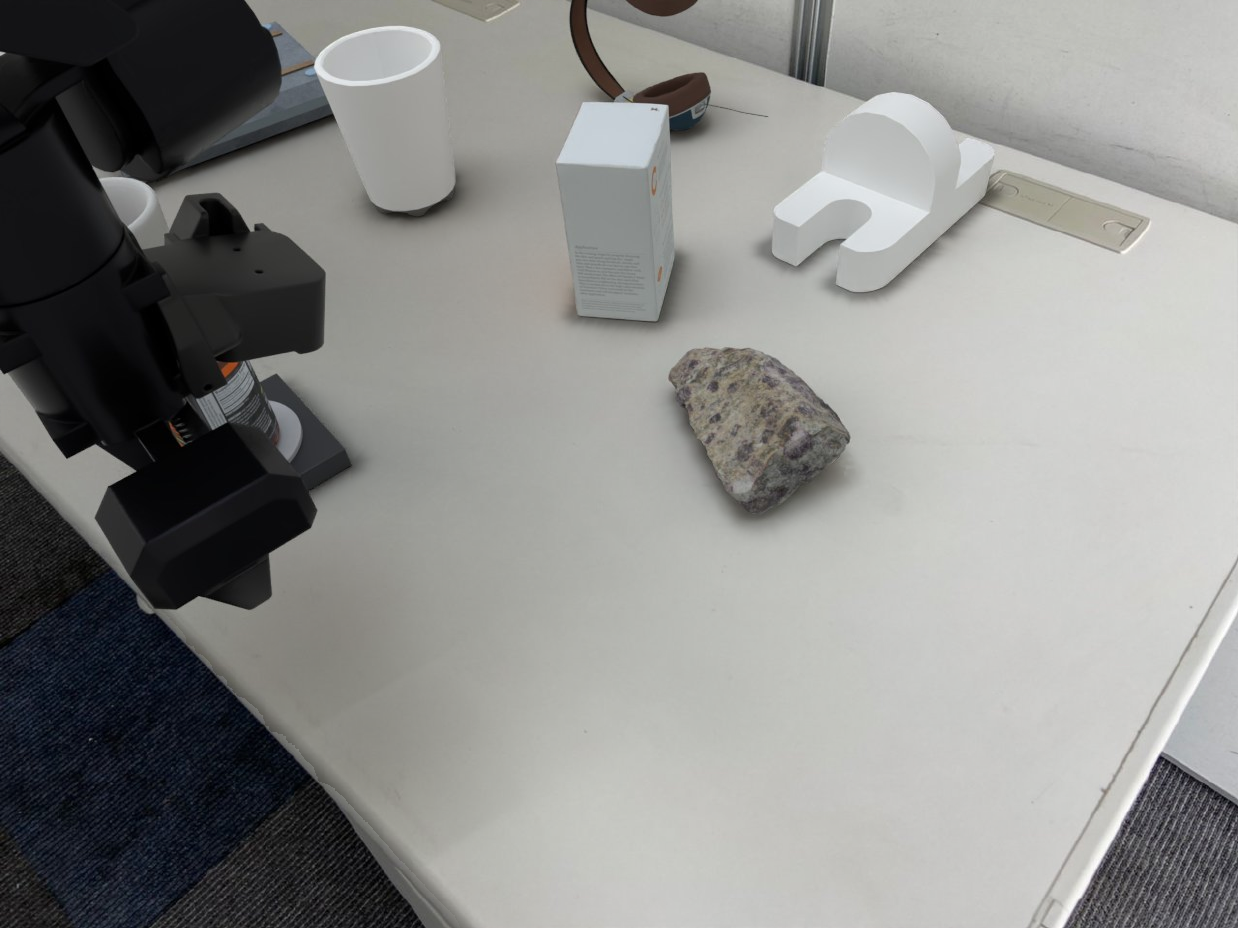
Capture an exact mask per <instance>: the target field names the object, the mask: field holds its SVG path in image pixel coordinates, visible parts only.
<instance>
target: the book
mask: <svg viewBox="0 0 1238 928" xmlns="http://www.w3.org/2000/svg"><path fill="white" fill-rule="evenodd" d="M261 25H262V26H263V27H266V28H267V29H268V30H269V31H270V33H271V34H272V37H273V39H274V42H275V45H276V47H277V50H278V54H279V59H280V63H281V68H282V84H281V88H280V91H279V95H278V96H277V98H276V99H275V100H274V102H273V103H272V104H270V105H269V106H268V107H266V108H265V109H263V110H262V111H260V112H259V113H258V114H256V115H255V116H253V117H252V118H251V119H249V120H248V121H246V122H245V123H243V124H242V125H241V126H239V127H238V128H236V129H235V130H233V131H232V132H231V133H229V134H228V135H226V136H225V137H224V138H222V139H221V140H219V141H218V142H216V143H215V144H214V145H212V146H211V147H209V148H208V149H206V150H205V151H204V152H202V153H201V154H199V155H198V156H196V157H195V158H194V159H192V160H191V161H189V162H188V163H187V164H185V165H184V166H182V167H181V168H179V169H178V170H177V171H175V172H178V171H181V170H184V169H186V168H189V167H191V166H195V165H197V164H200V163H203V162H206V161H208V160H211V159H214V158H216V157H219V156H222V155H224V154H227V153H230V152H233V151H236V150H238V149H241V148H244V147H247V146H249V145H251V144H254V143H257V142H260V141H263V140H266V139H268V138H271V137H273V136H276V135H279V134H281V133H284V132H288V131H290V130H292V129H293V130H294V129H296V128H299V127H301V126H303V125H307V124H309V123H311V122H314V121H317V120H320V119H322V118H325V117H328V116H330V115H334V114H333V112H332V109H331V107H330V104H329V102H328V100H327V97H326V95H325V93H324V90H323V88H322V85H321V83H320V81H319V78H318V76H317V74H316V71H315V69H314V65H315V61H316V59H317V57H315V56H314V55H313V54H312V53H311V52H309V51H308V50H307V49H306V48H305V47H304V46H303V45H302V44H301V43H300V42H298V40H296V39H295V38H294V37H293V36H292V35H291V34H290V33H289V32H288V31H287V30H286V29H285V28H284V27H283V26H282V25H281V24H280V23H278V22H277V21H272V22H268V23H263V24H261ZM175 172H174V173H175ZM120 173H121V175H122V176H123V177H124V178H131V179H136V178H134V177H132V176H130V175H128V174H126V173H124V172H122V171H120ZM136 180H138V181H141V182H144V183H145V184H147V182H146V181H142V180H139V179H136Z"/></svg>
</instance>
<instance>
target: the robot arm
mask: <svg viewBox="0 0 1238 928" xmlns="http://www.w3.org/2000/svg"><path fill="white" fill-rule="evenodd" d="M262 25H263V24H261V22H260V20H259V18H258V16H257V15H256V13H255V12H254V10H253V9H252V8H251V7H250V5H249V3H247V1H246V0H0V53H3V54H1V55H0V371H1V373H2V375H7V374H8V376H9V378H11V380H12V381H13V382H14V384H15V385H16V386H17V388H18V389H19V391H20V392H21V393H22V394H23V396H24V397H25V399H26V400H27V401H28V403H29V404H30V406H31V407H32V408H33V410H34V412H35V414H36V415H37V417H38V419H39V421H40V422H41V423H42V425H43V427H44V428H45V430H46V432H47V434H48V436H49V437H50V439H51V440H52V441H53V443H54V445H55V446H56V447H57V448H58V450H59V451H60V452H61V455H63V456H64V458H65V459H66V460H68V459H70V458H72V457H74V456H76V455H78V454H80V453H82V452H84V451H85V450H87V449H90V448H91V447H93V446H95V445H96V446H97V447H98V448H100V449H102V450H103V451H105V452H107V453H108V454H109V455H111V456H112V457H114V458H116V459H117V460H119V461H120V462H122V463H123V464H125V465H126V466H128V467H129V468H131V469H133V470H134V472H132V473H130V474H128V475H127V476H124V477H123V478H121V479H119V480H117V481H115V482H114V483H112V484H110V485H108V486H107V487H106V490H105V492H104V495H103V497H102V499H101V502H100V504H99V506H98V508H97V511H96V513H95V516H94V520H95V521H96V523H97V525H98V527H99V528H100V530H101V532H102V534H103V535H104V537H105V538H106V540H107V541H108V543H109V545H110V546H111V549H112V550H113V551H114V553H115V555H116V557H117V558H118V560H119V561H120V563H121V565H122V566H123V568H124V570H125V572H126V573H127V575H128V577H129V578H130V579H131V581H132V582H133V583H134V585H135V586H136V587H137V589H138V590H139V591H140V592H141V593H142V595H143V596H144V597H145V599H146V600H147V601H148V603H149V604H150V605H151V607H152V608H153V609H154V610H172V611H173V610H174V611H177V610H179V609H180V608H183V606H186V604H188V603H190V602H192V601H193V600H195V599H197V598H198V597H200V598H204V599H208V600H212V601H215V602H218V603H222V604H226V605H229V606H232V607H237V608H240V609H243V610H247V611H252V610H254V609H256V608H257V607H259V606H260V605H262V604H263V603H265V602H267V601H269V600H270V599H271V598H272V597H273V588H272V575H271V573H272V572H271V562H270V561H271V560H270V554H271V553H273V552H274V551H276V550H277V549H279V548H281V547H282V546H284V545H286V544H287V543H289V542H291V541H292V540H294V539H295V538H297V537H299V536H300V535H303V534H304V533H306V532H307V531H309V530H311V529H312V527H313V524H314V523H315V522H314V521H315V518H316V516H317V514H318V508H317V507H316V505H315V502H314V500H313V498H312V496H311V493H310V491H309V490H307V488H306V485H305V483H304V481H303V479H302V477H301V476H300V475H299V474H298V473H297V471H296V470H295V469H294V468H293V467H292V465H291V464H290V463H289V462H288V461H287V459H286V458H285V457H284V456H283V455H282V453H281V452H280V451H279V450H278V449H277V447H276V446H275V445H274V444H273V443H272V441H271V440H270V439H269V438H268V437H267V435H266V434H265V433H264V432H263V431H262V429H261V428H260V427H256V426H250V425H243V424H237V423H230V422H226V423H225V424H223V425H221V426H219V427H217V428H215V429H213V430H212V429H211V428H210V427H209V426H208V424H207V423H206V422H205V420H204V419H203V418H202V417H201V415H200V414H199V413H198V411H197V410H196V409H195V408H194V406H193V405H192V404H191V402H190V401H189V400H188V399H187V396H189V395H191V394H192V395H193V397H194V398H196V399H200V398H202V397H204V396H206V395H208V394H210V393H212V392H214V391H216V390H218V389H220V388H222V387H223V386H225V385H227V384H228V383H227V381H226V379H225V377H224V375H223V373H222V371H221V369H220V367H219V365H218V363H217V361H218V362H225V363H235V362H242V361H247V360H249V361H251V360H257V359H262V358H268V357H273V356H277V355H282V354H287V353H292V352H293V353H294V352H295V353H297V355H305V354H309V353H313V352H316V351H318V350H320V349H321V348H323V346H324V344H325V324H326V321H325V319H326V284H327V283H326V282H327V281H326V279H327V273H326V271H325V269H324V268H323V267H322V266H321V265H319V263H318V262H316V261H315V260H314V259H313V258H312V257H311V256H310V255H309V254H308V253H307V252H306V251H304V250H303V249H302V248H301V246H299V245H298V244H297V243H296V242H295V241H294V240H293V239H292V238H290V237H289V236H288V235H286V234H283V233H280V232H276V231H272V229H270V228H269V227H268V226H267V225H266V224H265V223H264V222H260V223H259V222H257V223H254V224H253V230H252V231H251V230H250V228H249V227H248V225H247V223H246V222H245V219H244V218H243V216H242V215H241V213H240V211H239V210H238V209H237V208H236V206H234V205H233V204H232V203H231V202H230V201H229V200H228V199H227V198H225V196H224V195H223V194H222V193H220V192H205V193H195V194H187V195H185V196H184V198H183V200H182V202H181V204H180V206H179V209H178V211H177V213H176V215H175V217H174V219H173V222H172V224H171V226H170V228H169V233H165V234H164V246H158V247H153V248H148V249H141V247H140V245H139V243H138V241H137V239H136V238H135V236H134V234H133V233H132V232H131V231H130V229H129V228H128V227H127V226H126V225H125V224H124V223H123V222H122V221H121V220H120V218H119V216H118V214H117V212H116V210H115V208H114V207H113V205H112V203H111V201H110V199H109V197H108V195H107V193H106V192H105V190H104V188H103V186H102V184H101V182H100V180H99V179H100V178H99V176H98V175H97V173H96V171H95V169H94V168H96V169H98V170H99V171H100V170H101V171H103V172H105V173H116V172H119V171H120V172H121V171H122V172H124V173H126V174H128V175H130V176H132V177H134V178H136V179H139V180H142V181H146V183H152V182H153V183H154V182H155V183H158V182H160V181H162V180H165V179H167V178H168V177H170V176H171V175H172V174H174V173H175V171H176V172H178V171H179V170H178V169H179V168H181V167H182V166H184V165H185V164H187V163H188V162H189V161H191V160H192V159H194V158H195V157H196V156H198V155H199V154H201V153H202V152H204V151H205V150H206V149H208V148H209V147H211V146H212V145H214V144H215V143H216V142H218V141H219V140H221V139H222V138H224V137H225V136H226V135H228V134H229V133H231V132H232V131H233V130H235V129H236V128H238V127H239V126H241V125H242V124H243V123H245V122H246V121H248V120H249V119H251V118H252V117H253V116H255V115H256V114H258V113H259V112H260V111H262V110H263V109H265V108H266V107H268V106H269V105H270V104H272V103H273V102H274V100H275V99H276V98H277V96H278V95H279V91H280V88H281V84H282V68H281V63H280V59H279V54H278V50H277V47H276V45H275V42H274V39H273V37H272V34H271V33H270V31H269V30H268V29H267V28H266V27H263V26H262ZM177 170H178V171H177ZM169 421H170V423H171V424H172V426H173V427H174V428H175V430H176V431H177V432H178V433H179V435H180V437H181V438H182V439H183V440H184V442H185V443H186V445H184V446H182V447H181V445H180V444H179V443H178V441H177V440H176V438H175V437H174V435H173V432H172V429H171V427H170V424H169Z"/></svg>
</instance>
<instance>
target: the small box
mask: <svg viewBox="0 0 1238 928" xmlns="http://www.w3.org/2000/svg"><path fill="white" fill-rule="evenodd" d="M670 131H671V129H669V107H668V105H662V104H647V103H616V102H614V101H613V102H612V101H611V102H610V101H606V102H605V101H582V103H581V104H580V106H579V108H578V111H577V113H576V115H575V118H574V119H573V122H572V125H571V126H570V129H569V131H568V134H567V136H566V138H565V140H564V142H563V145H562V147H561V150H560V151H559V154H558V156H557V159H556V161H555V164H554V165H555V167H556V175H557V182H558V189H559V196H560V203H561V209H562V216H563V217H562V218H563V223H564V231H565V237H566V238H565V239H566V245H567V251H568V259H569V265H570V273H571V281H572V287H573V294H574V302H575V308H576V314H577V315H578V316H579V317H590V318H601V319H615V320H616V319H617V320H627V321H639V322H640V321H642V322H643V321H644V322H658V320H659V317H660V314H661V310H662V308H663V303H664V299H665V297H666V292H667V289H668V285H669V281H670V278H671V273H672V270H673V266H674V261H675V257H676V254H675V233H674V232H675V231H674V215H673V189H672V187H673V186H672V157H671V156H672V155H671V135H670Z"/></svg>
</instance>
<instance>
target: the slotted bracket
mask: <svg viewBox="0 0 1238 928" xmlns="http://www.w3.org/2000/svg"><path fill="white" fill-rule="evenodd" d="M995 155H996V150H995V149H994V148H993V147H992V146H991V145H990V144H988V143H985V142H983V141H980V140H977V139H974V138H971V137H967V138H965V139H964V140H963V141H962V142H960V143H959V144H958V139H957V136H956V134H955V132H954V131H953V128H952V127H951V126H950V124H949V122H948V121H947V119H946V117H945V116H943V114H941V112H939V111H938V110H937V109H936V108H935V107H934V106H933V105H932V104H931V103H929V102H927V101H925V100H923V99H921V98H919V97H917V96H915V95H914V94H910V93H903V92H898V91H892V92H886V93H881V94H876V95H874V96H873V97H871V98H870V99H868V100H867V101H865V102H864V103H862V104H861V105H860V106H858V107H856V108H855V109H854V110H853V111H851V112H850V113H849V114H848V115H846V116H844V117H843V118H842V119H840V120H839V121H838V122H836V123H835V125H834V126H833V127H832V129H831V130H830V131H829V133H828V134H827V135H826V137H825V141H824V143H823V151H822V161H821V162H822V163H821V171H819V172H818V173H817V174H816V175H814V176H813V177H812V178H810V179H809V180H807V182H805V183H804V184H802V185H801V186H800V187H799V188H797V189H796V190H795V191H793V192H792V193H791V194H789V195H788V196H786V197H785V198H784V199H783V200H782V201H780V202H779V203H777V205H775V206H774V209H773V221H772V237H771V253H772V255H773V256H774V257H775V258H776V259H778V260H780V261H781V262H782V261H783V262H785V263H786V264H789V265H791V266H793V267H798V266H799V265H800V264H802V262H804V261H805V260H807V258H808V257H810V256H811V255H812V254H813V253H815V252H816V251H817V250H818V249H820V248H821V247H822V246H823V245H824V244H826V243H828V242H830V241H834V240H844V241H842V242H841V243H840V245H839V252H838V262H837V268H836V276H835V277H836V278H835V285H836V286H838V287H841V289H842V288H843V289H845V290H847V291H849V292H851V293H867V292H873V291H877V290H879V289H882V288H884V287H885V286H887V285H888V284H889V283H891V282H892V281H893V280H894V279H895V278H896V277H897V276H898V275H899V274H900V273H902V272H903V271H904V270H905V269H906V268H907V267H909V265H910V264H912V262H914V261H915V260H916V259H917V258H918V257H919V256H921V254H922V253H923V252H924V251H926V250H927V249H928V248H929V247H930V246H931V245H933V243H935V242H936V241H937V240H938V239H939V238H940V237H941V236H942V235H944V234H945V233H946V232H947V231H948V230H949V229H950V228H951V227H952V226H954V224H956V223H957V222H958V221H959V220H960V219H961V218H963V217H964V215H965V214H967V213H968V212H969V211H971V209H972V208H974V206H975V205H976V204H978V203H979V202H980V201H981V200H982V199H984V197H985V195H986V193H987V189H988V185H989V181H990V180H989V179H990V177H991V172H992V167H993V163H994V160H995Z"/></svg>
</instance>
